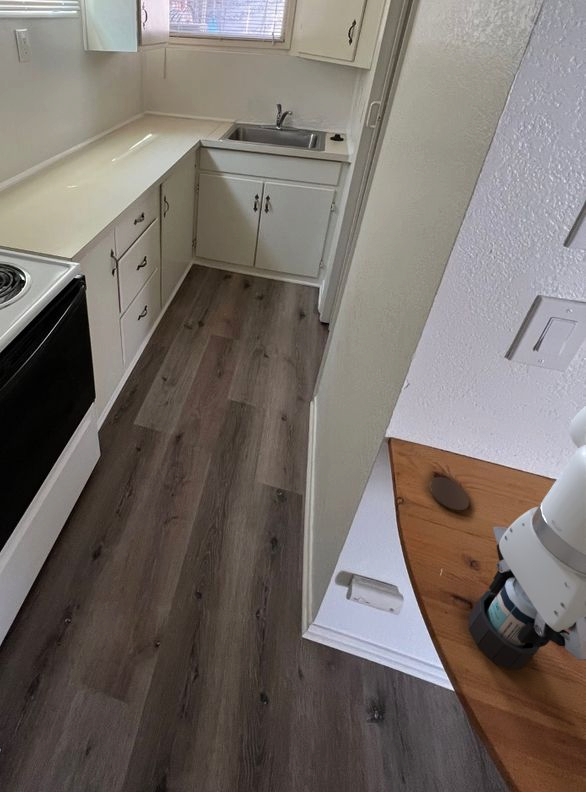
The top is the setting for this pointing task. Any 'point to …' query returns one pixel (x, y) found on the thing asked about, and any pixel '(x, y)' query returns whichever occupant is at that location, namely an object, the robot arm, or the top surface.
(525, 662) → the ring
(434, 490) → the coaster
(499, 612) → the beer can
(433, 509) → the top surface
